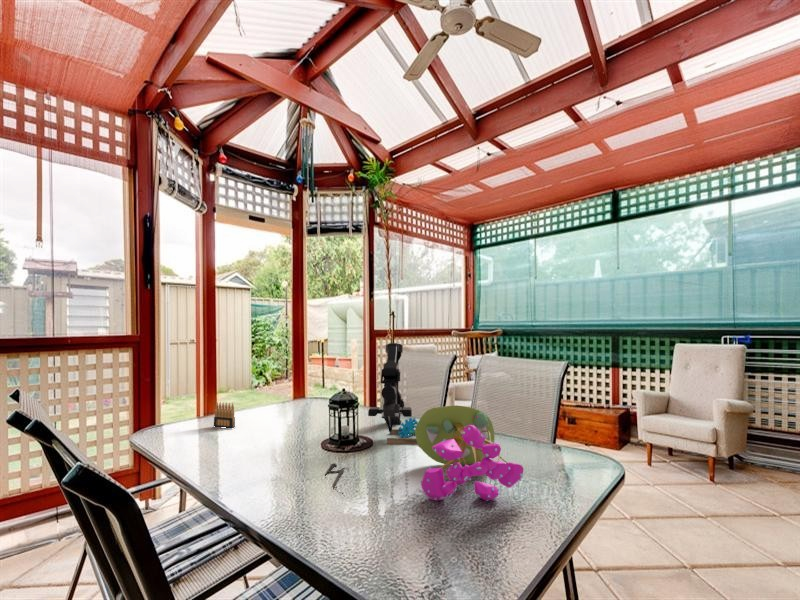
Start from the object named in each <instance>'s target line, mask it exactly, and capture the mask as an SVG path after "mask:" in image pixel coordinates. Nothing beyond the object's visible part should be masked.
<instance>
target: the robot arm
mask: <svg viewBox="0 0 800 600" xmlns="http://www.w3.org/2000/svg"><path fill="white" fill-rule="evenodd" d="M385 353H386V356H387V359H386V362H385V363H384V364H383V367H382V368H381V374H380V384H383V388H382V389H381V392H380V394H381V397H382V398H383V405H382V409H379V408H380V407H379V406H371V407H369V409H368V412H367V415H368V417H376V416H378V414H379V415H381V419H384V421H385V423H386V427H387V429H388V432H389V433H390V432H391V431H392V429H393V427H394V425H398V426H399V425H401V424H402V420H401V415H402V416H403V417H405V418H412V416H413V415H412V414H413V409H412V407H408V406H406V407H405V402H404V399H403V398H402V397H403V396H402V394H401V392H400V390H399V382H401V371H400V369H399V363H400V362H399V361H400V360H401V357H402V355H403V353H404V345H403V344H401V343H398V342H389V343H387V344H385Z"/></svg>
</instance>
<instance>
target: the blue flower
mask: <svg viewBox="0 0 800 600" xmlns="http://www.w3.org/2000/svg"><path fill="white" fill-rule="evenodd" d="M408 418H409V419H405V420H404V422H401V424H400V425H401V426H400V427H398V429H399V430H400V431H401V430H402V432H400V431H399V433H398V434H397V435H399V436H400V438H408V437H409V438H412V436H413V437H416V434H415V429H416V426H417V424H418V422H419V421H417V419H416V418H412V417H408ZM408 434H409V435H408ZM411 434H412V435H411Z"/></svg>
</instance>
